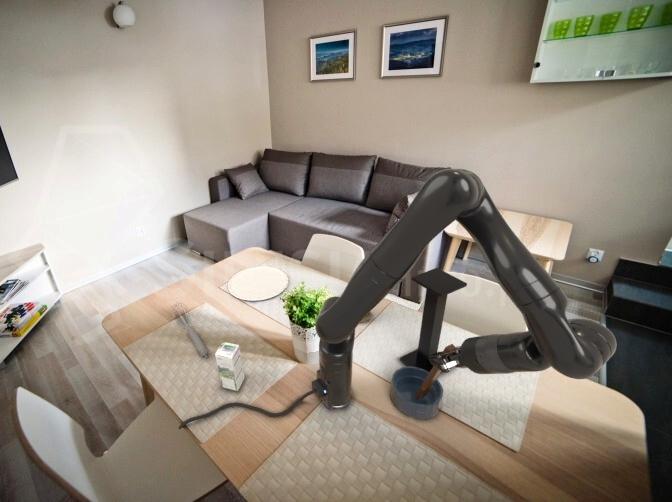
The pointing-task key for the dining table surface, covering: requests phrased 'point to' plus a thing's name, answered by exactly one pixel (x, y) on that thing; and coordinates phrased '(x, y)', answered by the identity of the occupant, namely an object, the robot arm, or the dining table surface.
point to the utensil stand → (432, 315)
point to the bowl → (406, 388)
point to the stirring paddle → (432, 376)
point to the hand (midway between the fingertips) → (435, 358)
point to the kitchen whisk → (193, 335)
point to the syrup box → (230, 366)
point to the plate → (258, 283)
